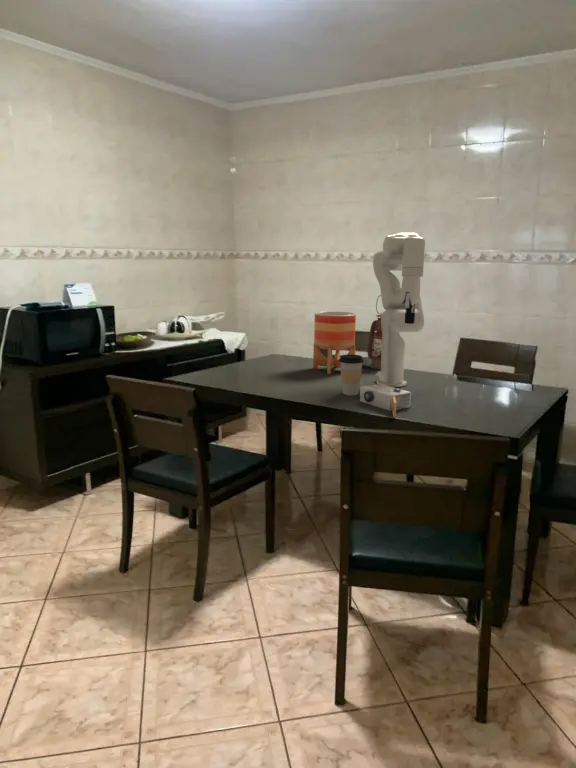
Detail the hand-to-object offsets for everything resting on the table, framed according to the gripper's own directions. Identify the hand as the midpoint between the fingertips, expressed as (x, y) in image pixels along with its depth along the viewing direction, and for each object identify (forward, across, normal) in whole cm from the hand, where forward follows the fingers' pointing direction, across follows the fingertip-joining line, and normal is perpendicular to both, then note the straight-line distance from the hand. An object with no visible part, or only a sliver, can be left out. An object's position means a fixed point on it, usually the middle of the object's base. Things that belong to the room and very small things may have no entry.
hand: (409, 323), depth 206 cm
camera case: (+29, +11, -5) cm, 31 cm away
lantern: (+30, -57, -27) cm, 70 cm away
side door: (+28, +23, +2) cm, 36 cm away
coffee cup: (+29, +2, -22) cm, 36 cm away
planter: (+30, -40, -45) cm, 67 cm away
